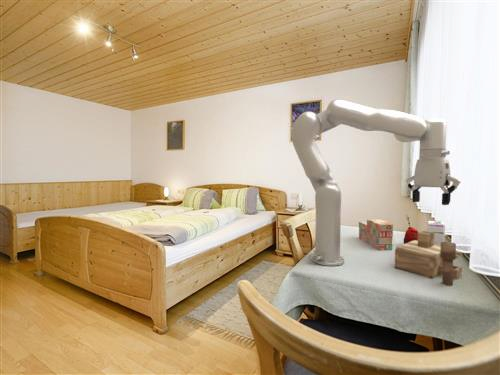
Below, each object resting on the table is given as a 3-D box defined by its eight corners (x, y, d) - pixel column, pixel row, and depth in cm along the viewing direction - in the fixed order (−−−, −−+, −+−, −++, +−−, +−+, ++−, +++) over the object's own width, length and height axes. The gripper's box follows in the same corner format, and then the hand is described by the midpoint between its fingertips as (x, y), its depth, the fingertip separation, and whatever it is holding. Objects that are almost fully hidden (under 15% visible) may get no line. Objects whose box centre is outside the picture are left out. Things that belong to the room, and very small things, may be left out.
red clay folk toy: (422, 249, 117) (423, 217, 116) (404, 248, 120) (405, 216, 119) (418, 245, 124) (419, 214, 123) (402, 243, 127) (402, 213, 126)
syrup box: (444, 259, 104) (446, 224, 103) (427, 257, 107) (428, 222, 106) (443, 255, 108) (444, 221, 108) (426, 253, 112) (427, 220, 111)
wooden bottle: (452, 287, 78) (453, 245, 78) (438, 283, 81) (438, 243, 81) (456, 284, 81) (457, 243, 80) (442, 280, 84) (443, 241, 83)
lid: (451, 265, 81) (452, 243, 80) (396, 252, 94) (396, 233, 94) (467, 255, 90) (468, 235, 90) (414, 244, 104) (415, 227, 103)
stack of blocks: (358, 238, 138) (358, 215, 137) (370, 238, 138) (370, 215, 137) (378, 250, 116) (379, 223, 116) (392, 250, 116) (393, 223, 116)
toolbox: (451, 283, 81) (451, 262, 81) (394, 268, 95) (395, 249, 94) (466, 272, 91) (467, 252, 90) (413, 259, 104) (413, 242, 104)
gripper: (466, 153, 85) (464, 205, 86) (413, 156, 100) (411, 200, 101) (454, 153, 81) (452, 206, 82) (401, 156, 97) (399, 201, 98)
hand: (430, 203), depth 92 cm, fingers open, 9 cm apart
